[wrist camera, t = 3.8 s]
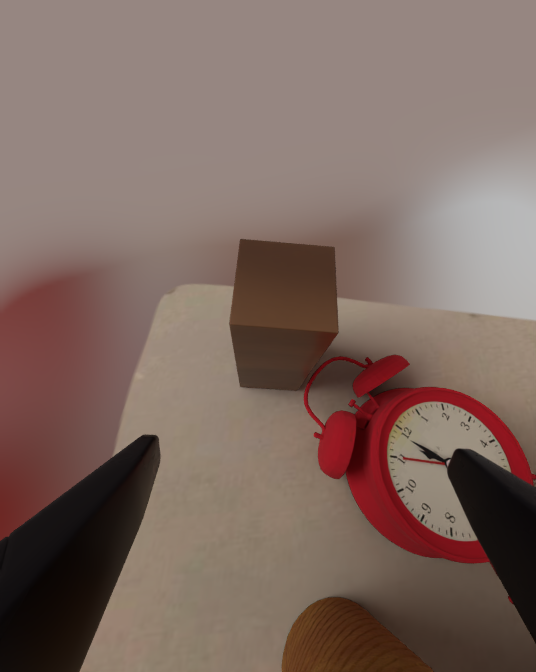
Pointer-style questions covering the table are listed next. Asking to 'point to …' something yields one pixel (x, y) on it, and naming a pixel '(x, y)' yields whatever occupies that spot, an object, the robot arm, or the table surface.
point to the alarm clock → (413, 458)
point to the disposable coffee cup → (345, 642)
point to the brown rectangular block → (282, 312)
